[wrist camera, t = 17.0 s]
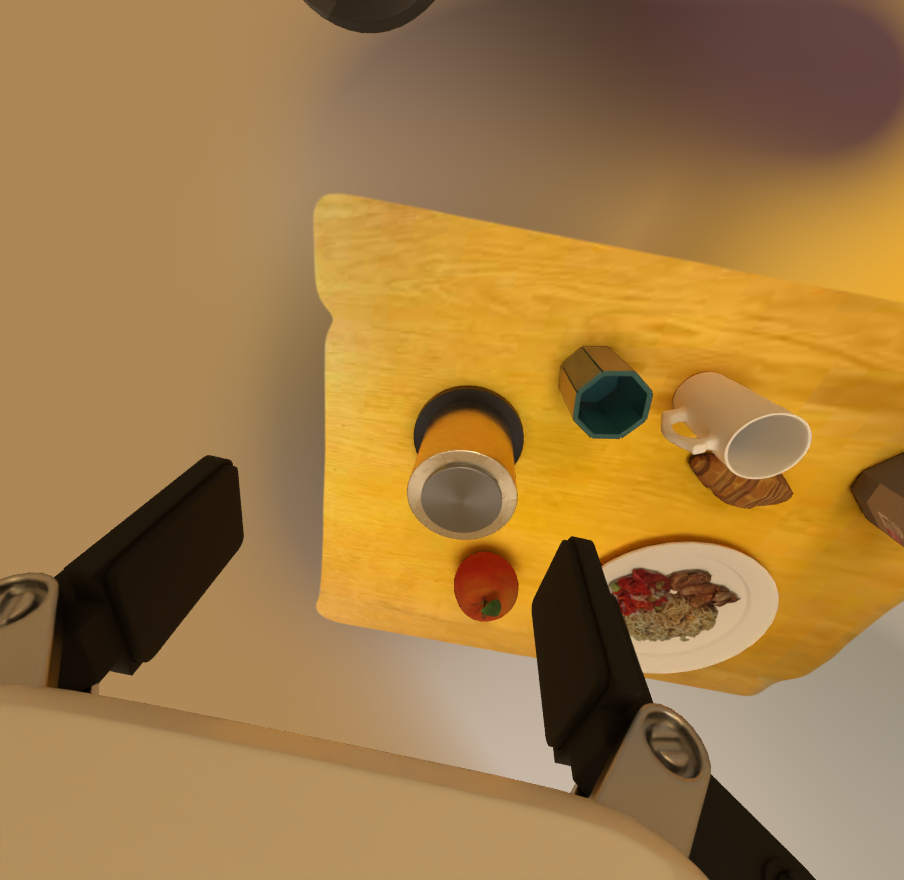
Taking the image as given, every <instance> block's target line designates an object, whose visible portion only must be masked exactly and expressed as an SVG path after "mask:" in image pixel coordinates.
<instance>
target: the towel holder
mask: <svg viewBox="0 0 904 880" xmlns="http://www.w3.org/2000/svg"><path fill="white" fill-rule="evenodd" d="M523 442H524V435H523V429H522V424H521V421H520V418H519V416H518V414H517V412H516V411H515V409H514V408H513V406H512V405H511V404H510V403H509V402H508V401H507V400H506V399H505V398H503V397H502V396H500V395H499V394H497V393H495V392H493V391H491V390H488V389H485V388H482V387H477V386H459V387H453V388H450V389H447V390H445V391H443V392H440V393H439V394H437V395H436V396H434V397H433V398H432V399H430V400H429V401H428V402H427V403H426V405H425V406H424V407H423V409H422V410H421V412H420V414H419V416H418V418H417V421H416V424H415V428H414V444H415V448H416V452H417V454H418V455H417V458H416V461H415V464H414V467H413V470H412V473H411V476H410V479H409V482H408V487H407V497H408V502H409V505H410V508H411V510H412V512H413V513H414V515H415V516H416V518H417V519H418V520H419V521H420V522H421V523H422V524H423V525H424V526H425V527H427V528H428V529H430V530H431V531H433V532H435V533H437V534H439V535H442V536H445V537H448V538H453V539H460V540H470V539H478V538H482V537H485V536H488V535H490V534H493V533H495V532H496V531H498V530H499V529H501V528H502V527H503V526H504V525H505V524H506V523H507V522H508V521H509V520H510V518H511V517H512V515H513V513H514V511H515V509H516V505H517V485H516V476H515V466H514V465H515V464H516V462H517V461H518V459H519V457H520V455H521V452H522V449H523Z"/></svg>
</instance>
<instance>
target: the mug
mask: <svg viewBox="0 0 904 880" xmlns="http://www.w3.org/2000/svg"><path fill="white" fill-rule="evenodd" d="M673 408H674V409H673V410H667V411H664V412H663V413H662V417H661V432H662V434H663V435H664V437H665V438H666V439H667V440H669V441H670V442H672V443H673V444H675V445H677V446H679V447H681V448H683V449H686V450H688V451H690V452H691V453H692V454H693V455H695V454H699V453H704V452H705V451H706V450H711V451H712V452H713V453H714V454H715V455H716V456H717V457H718V458H719V460H720V461H721V462H722V463H723V464H724V465H725V466H727V467H728V468H729V470H730V471H731V472H733V473H734V474H736V475H737V476H740V477H743V478H747V479H764V478H769V477H772V476H775V475H778V474H780V473H783V472H785V471H786V470H788V469H790V468H791V467H793V466H794V465H795V464H796V463H798V462H799V461H800V460H801V459H802V458H803V456H804V455H805V454H806V452H807V451H808V449H809V447H810V444H811V440H812V433H811V429H810V427H809V425H808V424H807V422H806V421H805V420H803V419H802V418H801V417H799V416H797V415H794V414H793V413H791V412H790V411H788V410H786V409H784V408H783V407H781V406H779V405H777V404H775V403H773V402H772V401H770V400H768V399H766V398H764V397H762V396H760V395H759V394H757V393H755V392H753V391H751V390H749V389H748V388H746V387H744V386H742V385H740V384H739V383H737V382H735V381H733V380H731V379H729V378H727V377H725V376H723V375H721V374H719V373H714V372H704V373H699V374H696V375H694V376H692V377H690V378H688V379H687V380H686V381H684V382H683V383H682V384H681V385H680V386H679V388H678V389H677V391H676V393H675V395H674V398H673ZM677 422H684V423H685V424H686V425H687V426H688V427H689V428H690V429H691V430H692V431H693V432H694V434H695V435H696V436H697V437H698V438H689V437H685V436H682V435H679V434H678V433H676V432H675V431H674V430H673V428H672V425H673V424H674V423H677Z"/></svg>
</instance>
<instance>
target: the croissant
mask: <svg viewBox="0 0 904 880" xmlns="http://www.w3.org/2000/svg"><path fill="white" fill-rule="evenodd" d="M689 465H690V467H691V468H692V470H693V471H694V472H695V474H696V475H697V477H698V478H699V479H700V481H701V482H702V483H703V485H704V486H705V487H707V488H710V489H711V490H712V492H713V493H714V495H715V496H716V497H718V498H719V499H720V500H722V501H723V502H725V503H726V504H730V505H733V506H737V507H742V508H749V509H751V508H753V507H755V506H765V505H774V504H779V503H782V502H785V501H787V500H788V499H790V498H791V497H792V495H793V492H792V490H791V488H790V486H789V484H788V483H787V481H786V480H785V478H784V477H783V476H782V475H781V474H778V475H775V476H772V477H769V478H764V479H747V478H743V477H740V476H737V475H736V474H734V473H733V472H731V471H730V470H729V468H728V467H727V466H725V465H724V464H723V463H722V462H721V461H720V460H719V458H718V457H717V456H716V455H715V454H695V455H694V456H692V457H691V458H690V461H689Z"/></svg>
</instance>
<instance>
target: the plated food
mask: <svg viewBox="0 0 904 880" xmlns="http://www.w3.org/2000/svg"><path fill="white" fill-rule="evenodd" d="M602 569H603V572H604V575H605V578H606V581H607V584H608V587H609V590H610V593H611V594H613V595H614V596H615V597H616V599H617V601H618V603H619V606H620V608H621V611H622V614H623V617H624V620H625V623H626V626H627V629H628V631H629V634H630V637H631V640H632V643H633V646H634V649H635V652H636V655H637V657H638V660H639V663H640V666H641V669H642V672H643V673H676V672H686V671H691V670H695V669H700V668H705V667H708V666H711V665H714V664H717V663H720V662H722V661H724V660H727V659H729V658H731V657H733V656H735V655H737V654H739V653H740V652H742V651H743V650H745V649H746V648H748V647H750V646H751V645H752V644H754V643H755V642H756V641H757V640H758V639H759V638H760V637H761V636H762V635H763V634H764V633H765V632H766V630H767V629H768V628H769V626H770V625H771V623H772V622H773V620H774V617H775V615H776V612H777V609H778V598H779V594H778V591H777V588H776V584H775V581H774V580H773V579H772V577H771V576H770V574H769V573H768V572H767V570H766V569H765V568H764V567H763V566H762V565H761V564H759V563H758V562H757V561H756V560H754V559H753V558H752V557H750V556H748V555H746V554H744V553H742V552H740V551H737V550H735V549H732V548H729V547H725V546H721V545H717V544H712V543H703V542H693V541H691V542H669V543H663V544H657V545H651V546H646V547H643V548H640V549H637V550H634V551H631V552H628V553H625V554H623V555H621V556H619V557H617V558H615V559H613V560H611V561H608V562H607V563H605V564H604V565H603V566H602Z"/></svg>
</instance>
